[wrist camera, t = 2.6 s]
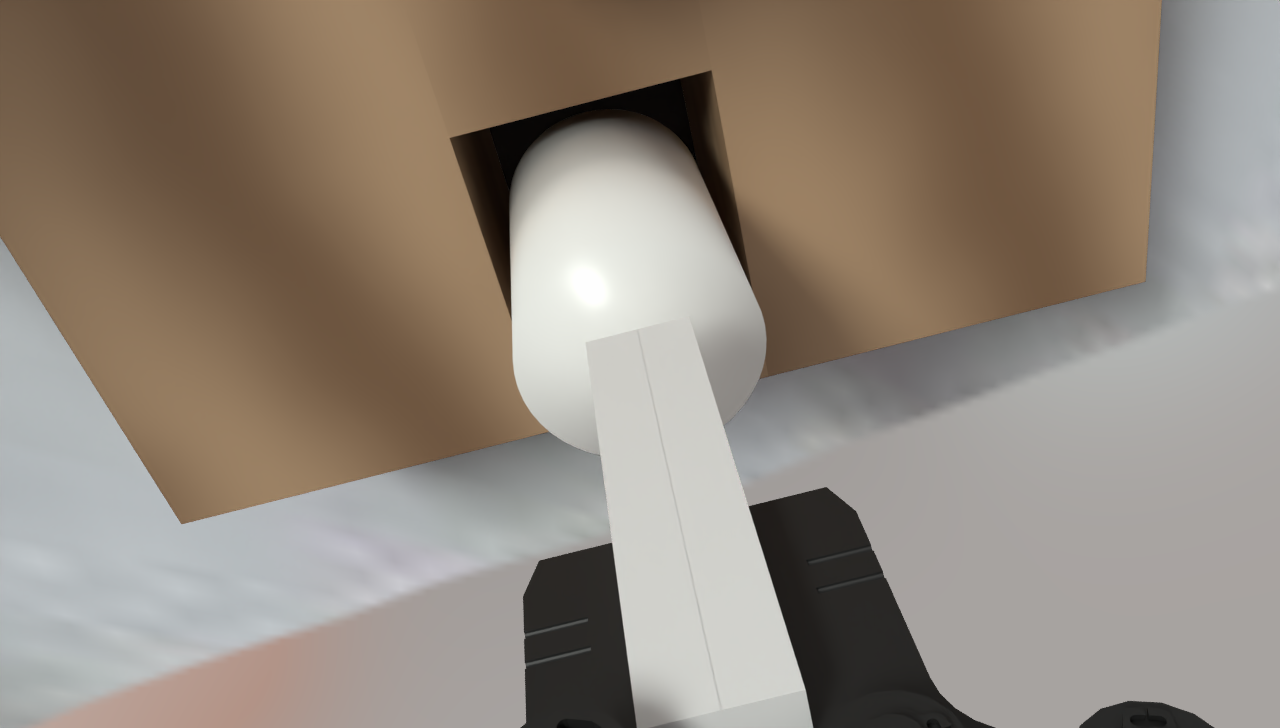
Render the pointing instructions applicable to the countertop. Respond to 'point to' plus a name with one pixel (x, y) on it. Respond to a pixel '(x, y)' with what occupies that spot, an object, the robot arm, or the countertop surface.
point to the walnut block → (479, 196)
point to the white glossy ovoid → (620, 264)
